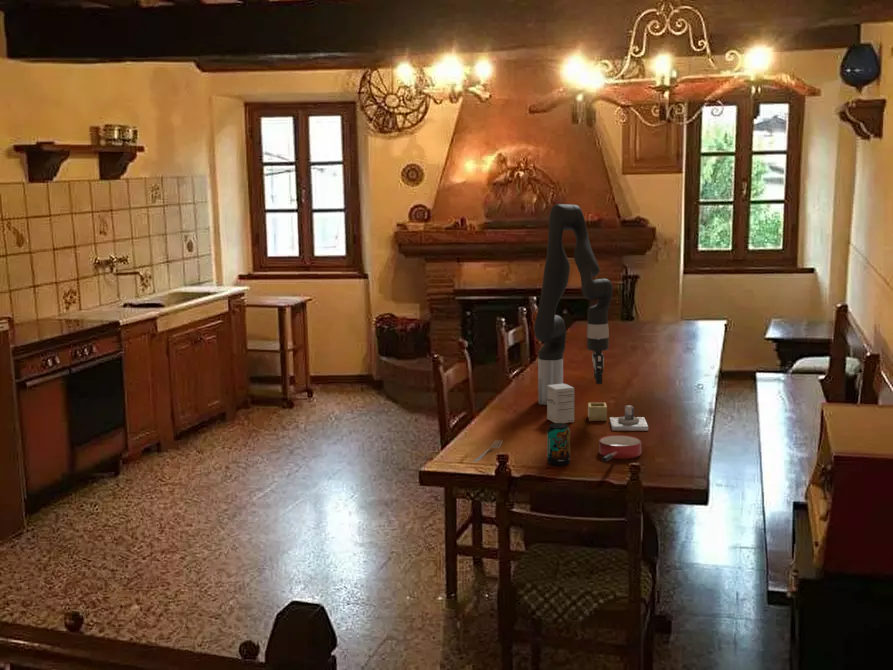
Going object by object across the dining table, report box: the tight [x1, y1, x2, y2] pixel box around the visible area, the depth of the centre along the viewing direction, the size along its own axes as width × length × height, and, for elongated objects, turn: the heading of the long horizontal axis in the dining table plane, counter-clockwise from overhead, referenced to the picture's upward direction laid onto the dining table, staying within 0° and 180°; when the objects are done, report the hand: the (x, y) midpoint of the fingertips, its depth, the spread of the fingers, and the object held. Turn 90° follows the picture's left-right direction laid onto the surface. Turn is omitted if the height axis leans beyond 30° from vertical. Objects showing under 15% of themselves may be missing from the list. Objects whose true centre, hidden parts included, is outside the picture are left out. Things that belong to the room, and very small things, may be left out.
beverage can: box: [546, 422, 571, 467], centre depth 311 cm, size 7×7×12 cm
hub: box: [587, 402, 608, 422], centre depth 363 cm, size 6×6×5 cm
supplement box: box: [546, 382, 575, 424], centre depth 360 cm, size 7×7×13 cm
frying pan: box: [598, 434, 642, 463], centre depth 312 cm, size 32×13×6 cm, turn 166°
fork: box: [473, 439, 503, 463], centre depth 324 cm, size 3×24×2 cm, turn 156°
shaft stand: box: [609, 404, 649, 432], centre depth 352 cm, size 12×12×7 cm
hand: (598, 381), depth 361 cm, fingers open, 8 cm apart
